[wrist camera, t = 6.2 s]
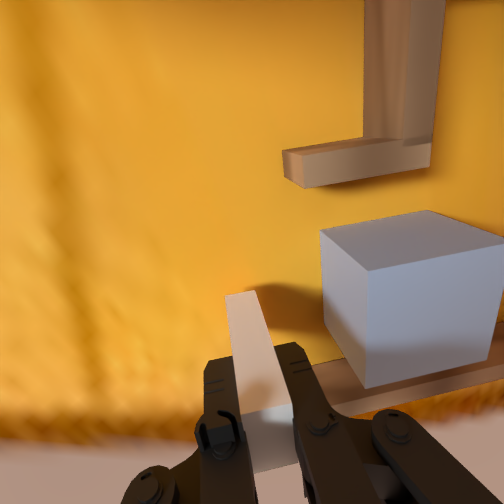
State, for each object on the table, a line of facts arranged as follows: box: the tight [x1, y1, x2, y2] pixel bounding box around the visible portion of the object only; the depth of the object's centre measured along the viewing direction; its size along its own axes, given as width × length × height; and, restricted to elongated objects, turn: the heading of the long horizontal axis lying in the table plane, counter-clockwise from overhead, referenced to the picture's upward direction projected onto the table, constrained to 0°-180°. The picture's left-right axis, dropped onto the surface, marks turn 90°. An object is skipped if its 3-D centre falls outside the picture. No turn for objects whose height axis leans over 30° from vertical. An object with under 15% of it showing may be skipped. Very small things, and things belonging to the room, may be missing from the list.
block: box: [320, 210, 504, 389], centre depth 15 cm, size 6×6×5 cm
